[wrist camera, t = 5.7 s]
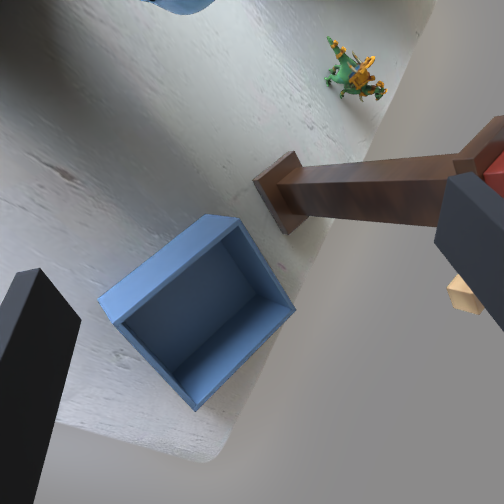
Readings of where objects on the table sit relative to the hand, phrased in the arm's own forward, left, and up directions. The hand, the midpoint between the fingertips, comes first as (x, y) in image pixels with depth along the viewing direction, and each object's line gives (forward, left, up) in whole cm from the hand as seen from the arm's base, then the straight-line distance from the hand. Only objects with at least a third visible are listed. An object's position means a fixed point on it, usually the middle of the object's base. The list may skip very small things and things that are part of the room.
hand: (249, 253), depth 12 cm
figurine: (+3, +37, -32) cm, 49 cm away
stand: (+12, +21, -32) cm, 41 cm away
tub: (+14, +2, -32) cm, 35 cm away
